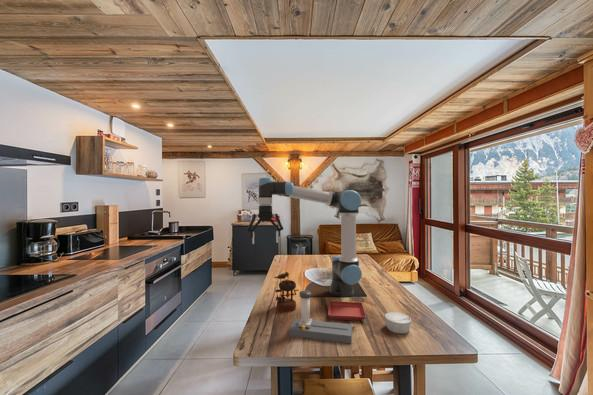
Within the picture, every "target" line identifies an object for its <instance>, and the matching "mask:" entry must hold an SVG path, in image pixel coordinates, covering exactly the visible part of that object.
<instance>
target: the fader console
mask: <svg viewBox="0 0 593 395" xmlns="http://www.w3.org/2000/svg"><path fill="white" fill-rule="evenodd" d="M300 319H301V318H300ZM300 319H299V318H294V319H293V322H292V324H291V326H290V327H289V336H290V337H295V338H303V339H311V340H312V339H313V340H320V341H327V342H328V341H329V342H337V343H344V344H352V338H353V335H352V334H353V327H352V326H353V325H352V324H350V323H349V324H348V323H339V322H330V321H329V322H328V321H322V320H321V321H320V320H312V323H311V326H310V328H308V327H305V325H302V327H299V326H298V324H299V321H300Z"/></svg>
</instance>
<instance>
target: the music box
mask: <svg viewBox="0 0 593 395" xmlns="http://www.w3.org/2000/svg"><path fill="white" fill-rule="evenodd" d="M289 275H290V273H289V272H288V271H286V272H285V273H280V274H278V275H277V276H274V277H273V279H277V280H276V281H277V282H276V283H277V285H276V286H277V289H275V293H276V297H275V301H276V310H277V311H278V312H281V313H291V312H294V311H296V309H297V302H296V301H295V299H293V296H296V295H297V293H296V292H298V291H299V292H300V289H296V287H297V284H296V282H295V281H294V280H290V279H289V278H290V277H289ZM286 278H288V279H286ZM284 279H286V280H284ZM278 280H280V282H278ZM278 287H279V288H278ZM278 293H280V297H279V294H278ZM289 297H290V298H289Z"/></svg>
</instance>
